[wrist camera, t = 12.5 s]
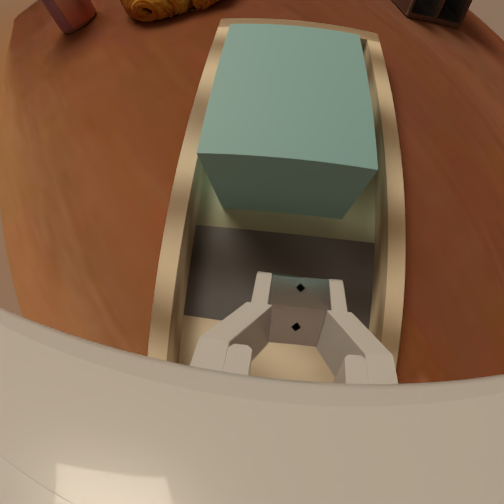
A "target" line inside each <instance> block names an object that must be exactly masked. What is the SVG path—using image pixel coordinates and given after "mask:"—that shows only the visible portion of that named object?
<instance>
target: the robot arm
mask: <svg viewBox="0 0 504 504" xmlns="http://www.w3.org/2000/svg"><path fill="white" fill-rule="evenodd" d="M268 342H272V343H284V344H296V345H304V346H313V347H316V348H317V350H318V352H319V353H320V355H321V356H322V358H323V360H324V361H325V363H326V364H327V366H328V367H329V369H330V371H331V372H332V374H333V375H334V377H335V380H334V382H333V383H326V382H310V381H297V380H286V379H276V378H267V377H259V376H251V362H252V361H253V359H254V358H255V357H256V356H257V355H258V354H259V353H260V352H261V351H262V350H263V349H264V348H265V347H266V345H267V344H268ZM0 504H504V374H502V375H495V376H489V377H481V378H473V379H464V380H454V381H442V382H428V383H405V384H398V380H397V375H396V369H395V364H394V359H393V355H392V354H391V353H390V352H389V351H388V350H387V349H386V348H385V347H384V345H383V344H382V343H381V342H380V341H379V340H378V339H377V338H376V337H375V336H374V335H373V334H372V333H371V332H370V331H369V330H368V329H367V328H366V327H365V326H364V325H363V324H362V323H361V321H360V320H359V319H358V318H357V317H356V316H355V315H354V314H353V313H352V312H348V311H347V304H346V297H345V290H344V284H343V281H342V280H337V279H320V278H309V277H301V276H293V275H285V274H277V273H273V274H272V273H268V272H260V271H258V273H257V276H256V280H255V285H254V290H253V295H252V300H251V302H246V303H245V304H243V305H242V306H241V307H239V308H238V309H237V310H235V311H234V312H233V313H231V314H230V315H229V316H227V317H226V318H225V319H223V320H222V321H221V322H219V323H218V324H217V325H215V326H214V327H213V328H211V329H210V330H208V331H207V332H206V333H204V334H203V335H202V336H200V337H199V340H198V343H197V346H196V349H195V352H194V354H193V357H192V360H191V363H190V366H189V365H184V364H179V363H174V362H170V361H165V360H161V359H156V358H152V357H148V356H144V355H140V354H136V353H132V352H128V351H124V350H120V349H117V348H113V347H110V346H106V345H103V344H99V343H96V342H93V341H89V340H86V339H83V338H80V337H77V336H74V335H71V334H68V333H65V332H62V331H59V330H56V329H53V328H50V327H48V326H45V325H42V324H40V323H37V322H34V321H32V320H29V319H27V318H24V317H22V316H19V315H17V314H15V313H12V312H10V311H8V310H6V309H3V308H1V307H0Z"/></svg>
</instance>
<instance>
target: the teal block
mask: <svg viewBox="0 0 504 504" xmlns="http://www.w3.org/2000/svg"><path fill="white" fill-rule="evenodd" d="M197 155H198V157H199V159H200V162H201V164H202V166H203V168H204V170H205V172H206V174H207V176H208V179H209V181H210V183H211V185H212V187H213V189H214V191H215V193H216V195H217V198H218V200H219V202H220V204H221V206H222V208H230V209H243V210H255V211H266V212H277V213H288V214H298V215H308V216H317V217H326V218H335V219H342V218H343V217H344V216H345V214H346V213H347V212H348V210H349V209H350V208H351V206H352V205H353V204H354V202H355V201H356V200H357V198H358V197H359V195H360V194H361V193H362V191H363V190H364V189H365V187H366V186H367V185H368V183H369V182H370V180H371V179H372V178H373V176H374V175H375V173H376V172H377V171H378V162H377V149H376V138H375V128H374V119H373V111H372V103H371V96H370V89H369V83H368V77H367V71H366V66H365V60H364V55H363V50H362V45H361V41H360V36H359V35H358V34H353V33H347V32H341V31H335V30H328V29H321V28H313V27H304V26H292V25H277V24H230V26H229V30H228V33H227V36H226V39H225V43H224V46H223V49H222V53H221V56H220V60H219V63H218V67H217V71H216V74H215V78H214V82H213V86H212V89H211V93H210V97H209V101H208V105H207V109H206V113H205V118H204V122H203V126H202V131H201V135H200V139H199V144H198V148H197Z"/></svg>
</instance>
